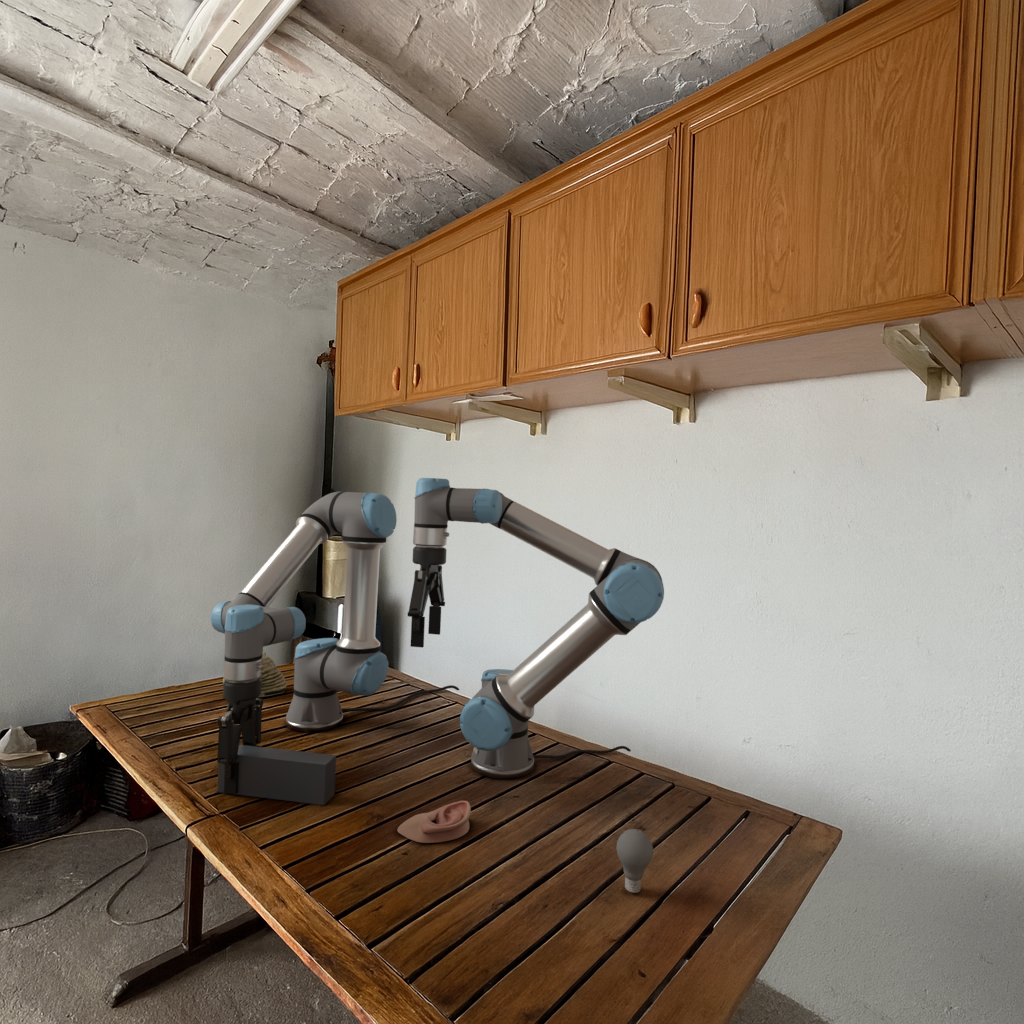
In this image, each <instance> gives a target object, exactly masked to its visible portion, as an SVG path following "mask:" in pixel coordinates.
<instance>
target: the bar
mask: <svg viewBox="0 0 1024 1024" xmlns="http://www.w3.org/2000/svg"><path fill="white" fill-rule="evenodd" d="M236 761H237V762H239V773H238V793H236V794H235V795H238V796H245V797H246V796H247V797H253V798H261V799H270V800H279V801H286V802H295V803H302V804H312V805H318V806H325V805H326V804H327V803H328V802H329V801H330V800H331V799H332V798H333V797H334V796H335V794H336V790H335V789H336V769H337V755H336V754H328V753H319V752H310V751H309V752H308V751H301V750H294V749H293V750H291V749H283V748H273V747H266V746H265V747H263V746H260V747H256V746H247V745H243V744H239V748H238V754H237V760H236ZM224 768H225V765H224V764H222V763H218V762H217V788H216V789H217V793H221V794H225V793H224ZM228 794H229V795H230V794H231V795H233V794H232V793H228Z"/></svg>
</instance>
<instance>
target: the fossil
mask: <svg viewBox="0 0 1024 1024" xmlns="http://www.w3.org/2000/svg"><path fill="white" fill-rule="evenodd" d="M262 665H263V667H262V672H261V676H260V677H259V678H260V679H261V694H260V696H259V697H258V698H264V697H271V696H275V695H281V694H284V693H285V691H286V689H287V687H288V686H287V680H286V678H285V676H284V674H283V673H282V672H281V669H279V668H278V667H277V665H276V663H275V662H274V660H273V659H272V658H271V657H270V656H269V655H268V654H267V653H266V652H265V650H264V649H263V654H262ZM225 680H226V679H225V678H224V677H223V676H222V683H223V682H224V681H225Z"/></svg>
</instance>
